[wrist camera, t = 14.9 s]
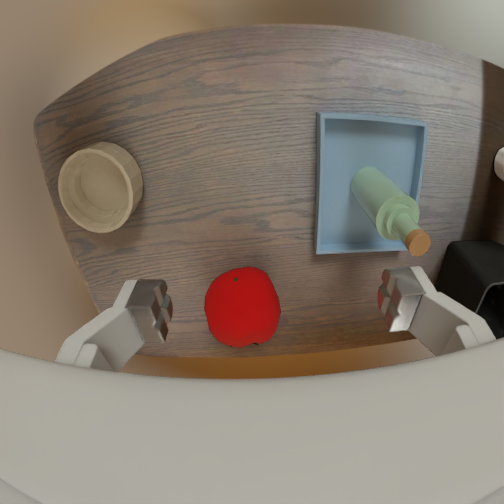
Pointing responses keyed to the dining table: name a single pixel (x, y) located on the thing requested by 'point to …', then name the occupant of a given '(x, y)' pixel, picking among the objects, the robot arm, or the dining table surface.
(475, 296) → the flower pot
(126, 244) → the dining table surface
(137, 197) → the bowl
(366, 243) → the tray
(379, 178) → the bottle
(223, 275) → the tomato
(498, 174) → the cup
